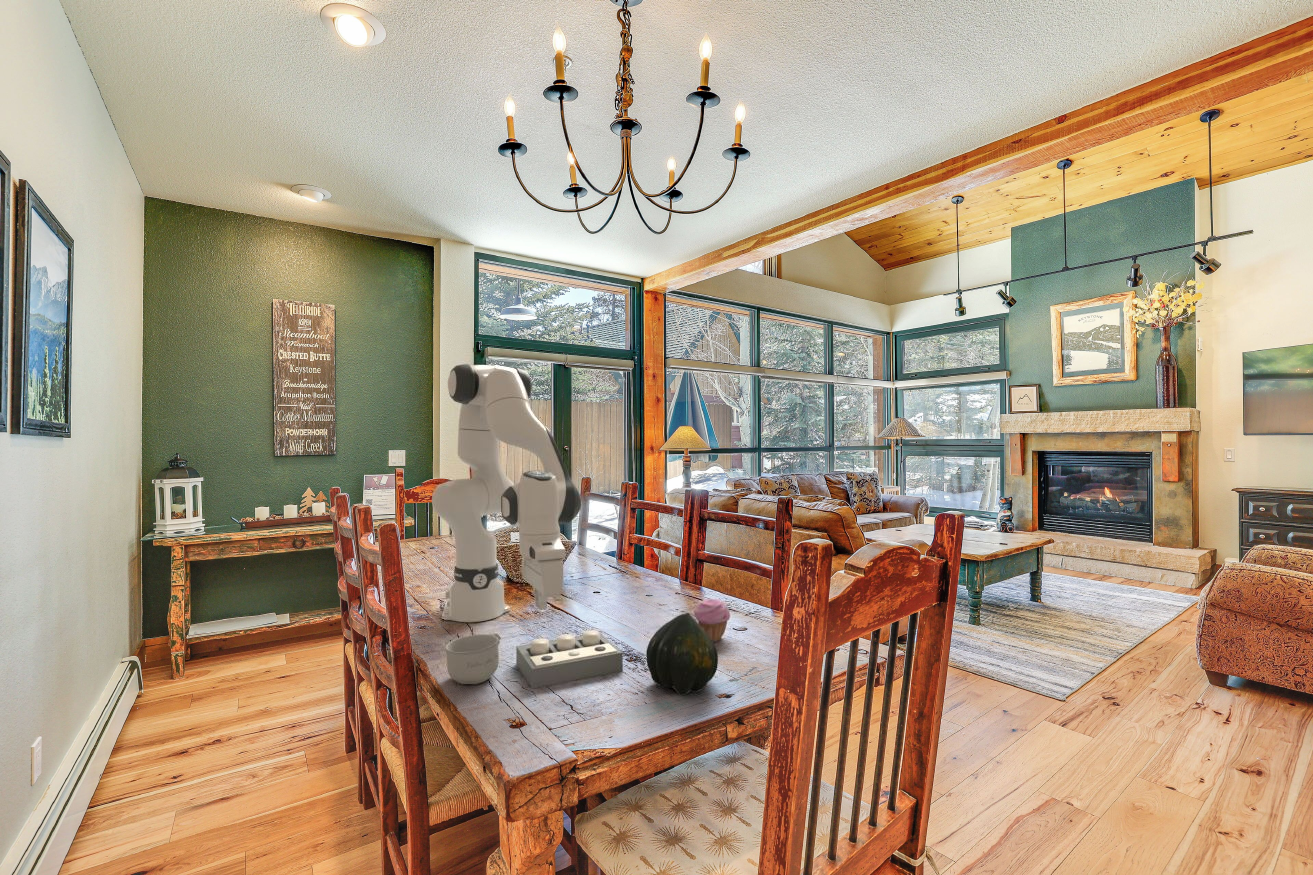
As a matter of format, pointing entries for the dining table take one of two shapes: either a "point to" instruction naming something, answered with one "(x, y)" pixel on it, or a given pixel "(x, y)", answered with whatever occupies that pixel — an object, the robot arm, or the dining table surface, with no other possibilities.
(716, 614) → the cupcake
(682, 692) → the squash
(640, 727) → the dining table surface
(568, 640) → the button
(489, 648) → the teacup
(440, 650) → the dining table surface
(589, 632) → the button
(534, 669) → the button board
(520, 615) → the dining table surface
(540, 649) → the button
